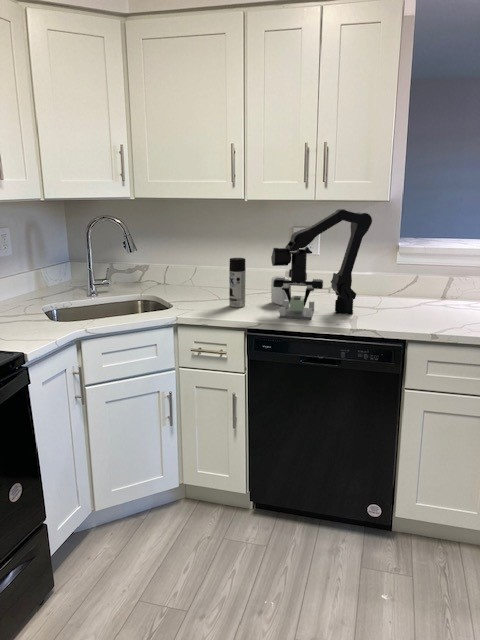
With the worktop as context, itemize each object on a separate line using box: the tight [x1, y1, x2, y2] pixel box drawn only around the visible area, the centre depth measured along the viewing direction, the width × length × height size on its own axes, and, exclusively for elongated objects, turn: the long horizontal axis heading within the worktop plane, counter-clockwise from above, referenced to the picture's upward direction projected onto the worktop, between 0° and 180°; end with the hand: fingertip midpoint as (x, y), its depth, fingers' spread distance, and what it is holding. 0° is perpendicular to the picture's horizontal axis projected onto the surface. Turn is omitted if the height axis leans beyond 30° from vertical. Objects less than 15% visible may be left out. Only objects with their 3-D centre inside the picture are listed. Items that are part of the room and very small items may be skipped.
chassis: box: [278, 300, 315, 321], centre depth 202 cm, size 12×15×4 cm
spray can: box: [228, 257, 247, 309], centre depth 213 cm, size 7×7×20 cm
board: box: [290, 295, 306, 311], centre depth 201 cm, size 5×9×5 cm, turn 168°
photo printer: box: [270, 274, 291, 307], centre depth 219 cm, size 10×4×12 cm, turn 29°
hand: (297, 305), depth 201 cm, fingers closed on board, 5 cm apart
